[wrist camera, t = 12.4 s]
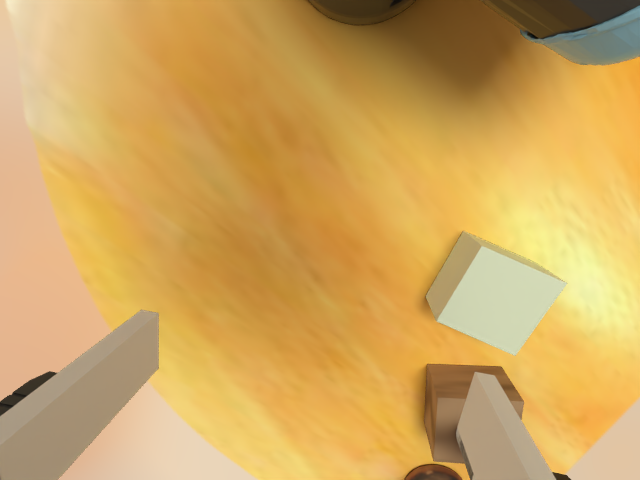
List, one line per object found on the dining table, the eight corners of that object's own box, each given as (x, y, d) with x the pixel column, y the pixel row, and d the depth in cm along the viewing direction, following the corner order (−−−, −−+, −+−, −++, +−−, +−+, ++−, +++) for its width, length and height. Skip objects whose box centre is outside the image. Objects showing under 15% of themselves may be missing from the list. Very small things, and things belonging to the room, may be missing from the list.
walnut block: (427, 363, 43) (437, 397, 37) (501, 366, 42) (523, 401, 36) (424, 421, 45) (433, 461, 40) (494, 425, 44) (514, 466, 39)
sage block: (463, 230, 38) (482, 245, 32) (535, 262, 38) (567, 283, 32) (425, 296, 41) (436, 321, 35) (493, 326, 41) (515, 355, 35)
